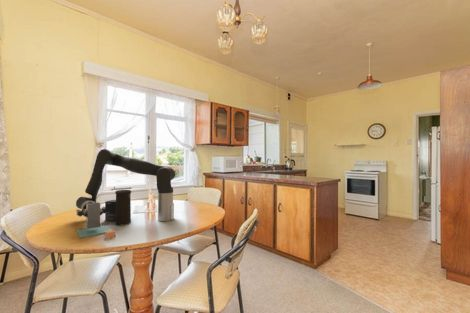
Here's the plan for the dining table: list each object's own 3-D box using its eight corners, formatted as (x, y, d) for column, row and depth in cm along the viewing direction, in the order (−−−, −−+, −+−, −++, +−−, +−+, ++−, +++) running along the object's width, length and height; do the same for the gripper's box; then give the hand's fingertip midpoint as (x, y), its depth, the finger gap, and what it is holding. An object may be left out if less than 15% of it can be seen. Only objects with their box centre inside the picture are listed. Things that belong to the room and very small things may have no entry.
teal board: (105, 226, 129) (105, 225, 129) (109, 232, 119) (109, 231, 119) (77, 231, 121) (77, 229, 121) (79, 238, 111) (79, 236, 111)
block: (111, 236, 114) (111, 229, 114) (115, 237, 113) (115, 230, 113) (105, 238, 111) (105, 231, 111) (109, 239, 110) (109, 232, 110)
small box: (130, 218, 147) (130, 199, 147) (124, 221, 140) (124, 202, 140) (111, 217, 148) (111, 199, 148) (104, 220, 141) (104, 201, 141)
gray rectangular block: (98, 224, 124) (98, 202, 124) (100, 226, 119) (100, 204, 119) (86, 226, 120) (86, 203, 120) (87, 228, 116) (87, 205, 116)
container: (134, 221, 139) (134, 189, 139) (122, 226, 130) (122, 191, 130) (123, 220, 142) (123, 188, 142) (111, 224, 133) (111, 190, 133)
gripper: (74, 203, 126) (77, 209, 113) (103, 200, 135) (109, 205, 122) (74, 216, 126) (77, 224, 113) (103, 212, 135) (109, 219, 122)
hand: (93, 214), depth 118 cm, fingers closed on gray rectangular block, 5 cm apart
